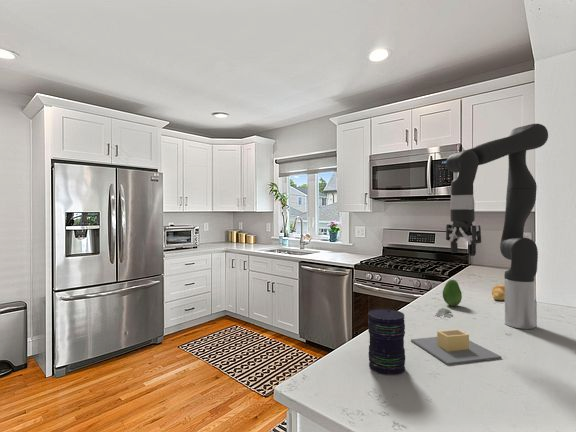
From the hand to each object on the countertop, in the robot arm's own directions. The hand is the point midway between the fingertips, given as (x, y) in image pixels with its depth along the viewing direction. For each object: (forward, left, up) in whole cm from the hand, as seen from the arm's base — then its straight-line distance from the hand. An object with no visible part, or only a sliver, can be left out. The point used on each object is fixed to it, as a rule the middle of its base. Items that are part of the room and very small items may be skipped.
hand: (462, 254), depth 117 cm
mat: (+13, +11, -28) cm, 33 cm away
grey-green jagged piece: (-4, -18, -29) cm, 34 cm away
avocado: (-20, -31, -28) cm, 46 cm away
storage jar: (+39, +17, -28) cm, 51 cm away
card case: (+13, +11, -28) cm, 32 cm away
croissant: (-54, -38, -28) cm, 72 cm away
